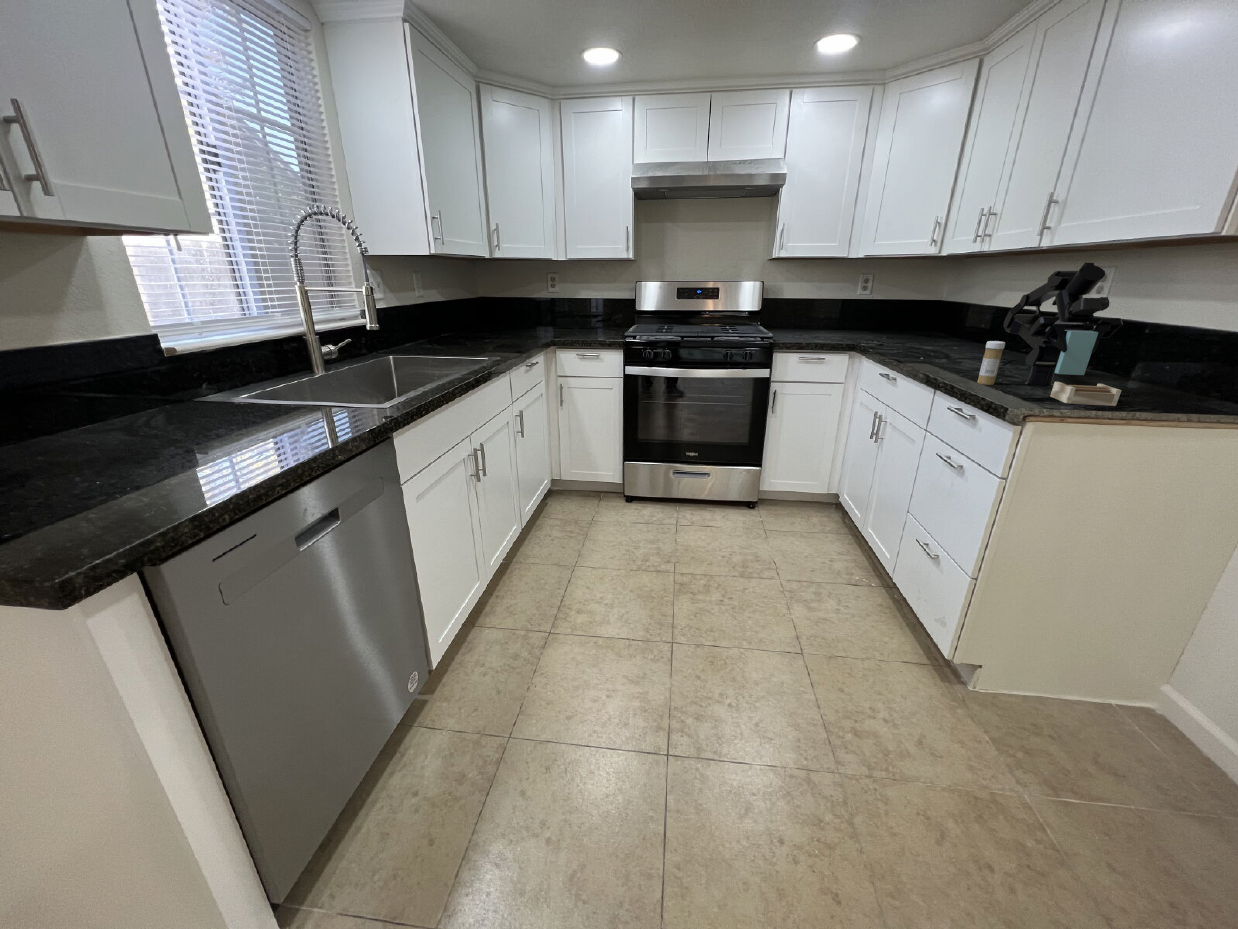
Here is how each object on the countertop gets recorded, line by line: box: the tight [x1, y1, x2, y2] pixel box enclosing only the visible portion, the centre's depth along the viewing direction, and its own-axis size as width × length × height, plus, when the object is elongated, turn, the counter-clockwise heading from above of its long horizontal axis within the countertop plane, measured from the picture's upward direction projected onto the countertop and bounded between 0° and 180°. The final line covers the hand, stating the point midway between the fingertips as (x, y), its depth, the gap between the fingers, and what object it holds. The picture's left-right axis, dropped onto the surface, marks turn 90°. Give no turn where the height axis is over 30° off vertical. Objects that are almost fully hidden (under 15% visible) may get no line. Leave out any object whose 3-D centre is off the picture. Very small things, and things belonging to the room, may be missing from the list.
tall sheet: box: [1054, 331, 1098, 376], centre depth 135 cm, size 2×6×12 cm, turn 73°
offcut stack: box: [1068, 384, 1110, 393], centre depth 129 cm, size 3×8×4 cm, turn 73°
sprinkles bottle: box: [976, 340, 1006, 386], centre depth 150 cm, size 5×5×14 cm
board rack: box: [1050, 381, 1122, 407], centre depth 130 cm, size 8×11×5 cm
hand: (1079, 351), depth 134 cm, fingers closed on tall sheet, 6 cm apart
